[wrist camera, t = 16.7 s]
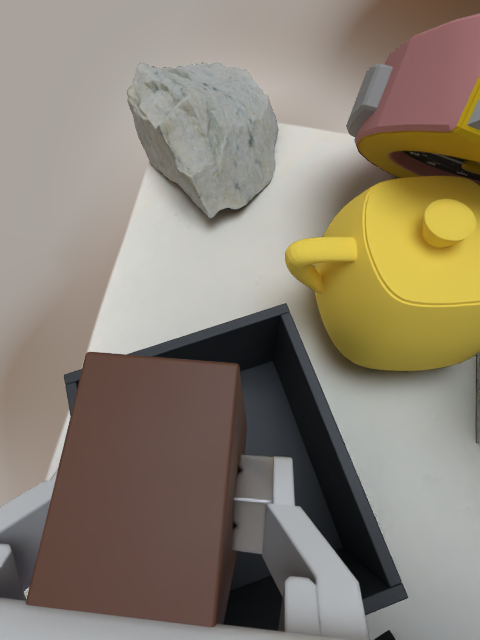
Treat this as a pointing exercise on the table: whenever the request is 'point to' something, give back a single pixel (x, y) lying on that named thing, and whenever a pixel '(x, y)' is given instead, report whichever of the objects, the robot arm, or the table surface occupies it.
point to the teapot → (399, 274)
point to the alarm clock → (386, 636)
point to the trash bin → (289, 441)
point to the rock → (206, 131)
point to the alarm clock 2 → (424, 105)
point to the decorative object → (478, 400)
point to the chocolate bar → (145, 492)
